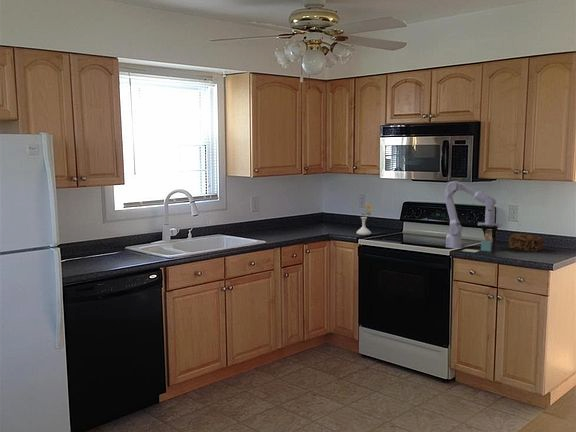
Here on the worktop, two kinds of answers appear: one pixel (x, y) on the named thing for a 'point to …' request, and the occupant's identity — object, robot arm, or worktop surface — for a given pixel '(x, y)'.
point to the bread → (525, 242)
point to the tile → (485, 245)
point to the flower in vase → (363, 229)
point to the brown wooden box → (488, 235)
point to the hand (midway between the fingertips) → (489, 237)
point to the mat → (470, 250)
